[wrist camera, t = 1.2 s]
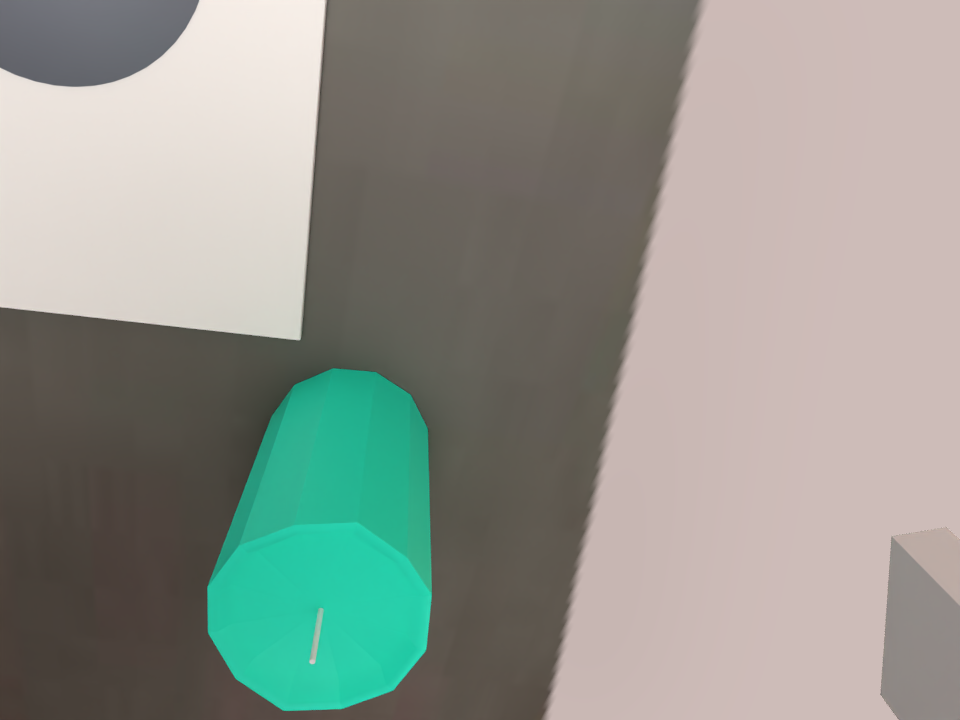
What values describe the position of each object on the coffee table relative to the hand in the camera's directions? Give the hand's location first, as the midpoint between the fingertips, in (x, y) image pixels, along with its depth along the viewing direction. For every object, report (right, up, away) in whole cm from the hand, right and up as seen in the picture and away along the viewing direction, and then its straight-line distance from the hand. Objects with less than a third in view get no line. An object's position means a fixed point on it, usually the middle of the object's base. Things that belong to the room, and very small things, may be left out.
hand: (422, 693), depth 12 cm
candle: (-4, +2, +21) cm, 21 cm away
